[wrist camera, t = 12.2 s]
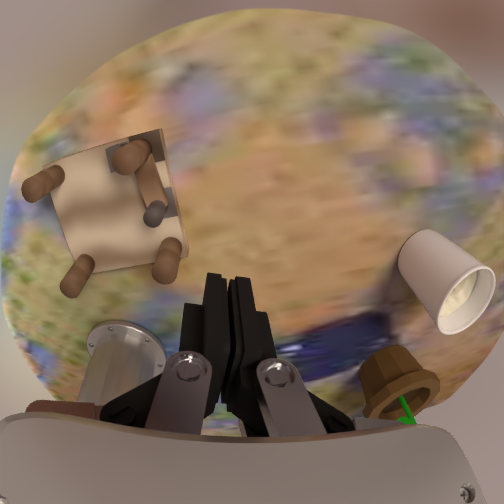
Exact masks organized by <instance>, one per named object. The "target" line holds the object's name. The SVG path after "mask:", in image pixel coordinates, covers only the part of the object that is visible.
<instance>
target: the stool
mask: <svg viewBox="0 0 504 504" xmlns="http://www.w3.org/2000/svg"><path fill="white" fill-rule="evenodd" d="M139 138H143V139H146V140H148V141H149V142H150V143H151V145H152V155H153V158H154V161H155V164H156V167H157V170H158V173H159V176H160V179H161V182H162V184H163V187H164V190H165V193H166V196H167V199H168V208H167V211H166V213H165V215H164V218H163V220H162V222H161V224H160V225H159V226H158V227H155V228H151V227H148V226H147V225H146V224H145V223H144V221H143V215H144V213H145V212H146V210H147V207H146V204H145V201H144V199H143V196H142V193H141V190H140V188H139V185H138V182H137V179H136V176H135V174H134V172H133V173H132V174H130V175H120V174H118V173H117V172H116V171H115V170H114V169H113V167H112V163H111V159H112V155H113V154H114V152H115V151H116V150H117V149H119V148H121V147H123V146H124V145H126V144H128V143H130V142H132V141H134V140H136V139H139ZM21 190H22V195H23V197H24V199H25V200H26V201H28V202H30V203H34V202H36V201H38V200H39V199H40V198H42V197H43V196H45V195H46V194H48V193H49V192H50V194H51V197H52V200H53V203H54V206H55V209H56V212H57V215H58V218H59V221H60V224H61V227H62V229H63V232H64V235H65V238H66V240H67V243H68V245H69V248H70V250H71V253H72V255H73V258H74V260H75V263H74V264H73V265H72V267H71V268H70V270H69V271H68V272H67V274H66V275H65V277H64V278H63V280H62V281H61V283H60V290H61V292H62V293H63V294H64V295H65V296H66V297H68V298H76V297H78V295H79V293H80V292H81V290H82V288H83V286H84V285H85V283H86V281H87V280H88V278H89V276H90V275H91V273H97V272H102V271H108V270H114V269H119V268H125V267H131V266H136V265H142V264H148V263H153V262H155V263H154V266H153V269H152V276H153V278H154V279H155V280H156V281H157V282H158V283H161V284H170V283H172V282H174V281H175V279H176V277H177V272H178V267H179V262H180V258H182V257H188V253H189V245H188V241H187V237H186V233H185V229H184V225H183V221H182V217H181V213H180V209H179V205H178V201H177V196H176V192H175V188H174V183H173V179H172V174H171V170H170V165H169V160H168V156H167V151H166V146H165V141H164V136H163V131H162V129H157V130H153V131H149V132H145V133H141V134H137V135H134V136H130V137H127V138H123V139H119V140H116V141H113V142H109V143H106V144H103V145H99V146H96V147H93V148H90V149H87V150H84V151H81V152H78V153H75V154H72V155H70V156H67V157H64V158H61V159H58V160H56V161H53V162H51V163H49V164H47V165H44V166H43V171H41V172H39V173H37V174H35V175H34V176H32V177H30V178H28V179H26V180H25V181H24V182H23V184H22V189H21Z"/></svg>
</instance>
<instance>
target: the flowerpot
mask: <svg viewBox="0 0 504 504" xmlns="http://www.w3.org/2000/svg"><path fill="white" fill-rule="evenodd" d="M359 376H360V380H361V383H362V387H363V391H364V395H365V399H366V403H367V405H366V406H365V408H364V410H363V414H364V416H365V418H371V419H384V420H397V421H401V422H403V423H404V424H417V423H416V421H415V419H414V416H415V415H417V414H418V413H419V412H421V411H422V410H423V409H424V408H425V407H427V406H428V405H429V404H430V403H431V402H432V401H433V399H434V398H435V397H436V395H437V394H438V392H439V391H440V381H439V379H438V377H437V376H436V374H435V373H434V372H431V371H428V370H426V369H423V368H422V366H421V365H420V364H419V363H418V362H417V361H416V359H415V358H414V357H413V356H412V355H411V354H410V352H409V351H408V350H407V349H406V348H404V347H402V346H400V345H395V346H389V347H385V348H383V349H381V350H379V351H378V352H376V353H374V354H372V355H371V356H370V357H369V358H368V359H367V360H366V361H365V362H364V363H363V364H362V367H361V369H360V371H359Z"/></svg>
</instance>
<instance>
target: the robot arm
mask: <svg viewBox="0 0 504 504" xmlns="http://www.w3.org/2000/svg"><path fill="white" fill-rule="evenodd" d="M87 349H88V352H89V355H90V356H91V360H90V363H89V365H88V368H87V371H86V374H85V377H84V380H83V383H82V386H81V389H80V392H79V395H78V399H77V402H65V401H50V400H36V401H34V402H32V403H31V404H30V405H29V406H28V407H27V409H26V411H25V413H19V414H14V415H11V416H8V417H6V418H4V419H3V420H1V421H0V504H487V503H486V501H485V498H484V496H483V493H482V490H481V488H480V485H479V483H478V481H477V478H476V476H475V474H474V472H473V470H472V467H471V466H470V463H469V461H468V459H467V457H466V456H465V454H464V452H463V450H462V449H461V447H460V445H459V444H458V442H457V441H456V440H455V438H454V437H453V436H452V435H451V434H450V433H449V432H447V431H446V430H444V429H441V428H438V427H435V426H429V425H421V424H404V423H403V422H401V421H397V420H384V419H371V418H360V417H354V418H353V419H350V418H349V417H348V416H346V415H345V414H344V413H342V412H341V411H339V410H337V409H336V408H334V407H333V406H331V405H329V404H328V403H326V402H325V401H323V400H321V399H320V398H318V397H317V396H315V395H314V394H312V393H311V392H309V391H308V390H306V387H305V385H304V383H303V381H302V379H301V377H300V375H299V372H298V371H297V369H296V368H295V367H294V366H293V365H292V364H291V363H289V362H287V361H285V360H282V359H279V358H277V356H276V351H275V347H274V342H273V338H272V333H271V329H270V324H269V320H268V315H267V313H266V312H260V311H256V308H255V303H254V297H253V292H252V286H251V280H250V278H246V277H238V276H236V277H235V280H233V279H230V281H229V286H228V291H227V281H226V279H225V278H222V276H221V274H215V273H207V278H206V284H205V290H204V297H203V303H202V305H198V304H190V303H185V304H184V311H183V320H182V328H181V337H180V347H179V352H177V353H174V354H173V355H171V356H170V357H169V358H168V360H167V362H166V352H165V349H164V347H163V345H162V344H161V342H160V341H159V340H158V339H157V338H156V337H155V336H154V335H153V334H152V333H150V332H149V331H148V330H146V329H144V328H142V327H140V326H138V325H135V324H133V323H129V322H125V321H116V320H115V321H106V322H102V323H100V324H98V325H96V326H95V327H94V328H93V329H92V330H91V332H90V333H89V336H88V339H87ZM162 371H163V373H161V372H162ZM160 373H161V374H160ZM220 391H221V402H222V403H225V404H227V412H232V413H233V414H234V415H235V416H236V417H238V418H239V420H238V423H239V428H240V432H241V435H242V437H229V436H209V435H201V429H202V424H203V419H205V418H206V417H207V416H209V415H210V414H211V413H213V412H214V408H215V404H216V403H218V399H219V395H220Z"/></svg>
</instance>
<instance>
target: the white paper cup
mask: <svg viewBox="0 0 504 504" xmlns="http://www.w3.org/2000/svg"><path fill="white" fill-rule="evenodd" d="M398 269H399V272H400V274H401V275H402V277H403V278H404V280H405V281H406V283H407V284H408V285H409V287H410V288H411V289H412V291H413V292H414V294H415V295H416V296H417V298H418V299H419V301H420V302H421V304H422V305H423V306H424V308H425V309H426V311H427V312H428V314H429V315H430V317H431V318H432V320H433V321H434V323H435V324H436V326H437V328H438V330H439V331H440V332H441V333H443V334H446V335H451V334H456V333H458V332H461V331H463V330H464V329H466V328H467V327H469V326H470V325H471V324H473V323H474V322H475V321H476V320H477V319H478V318H479V317H480V315H481V314H482V313H483V312H484V310H485V309H486V307H487V306H488V304H489V302H490V300H491V298H492V295H493V292H494V289H495V275H494V272H493V271H492V269H491V268H489V267H488V266H486V265H484V264H483V263H481V262H480V261H479V260H477V259H476V258H475V257H473V256H472V255H470V254H469V253H468V252H466V251H465V250H463V249H462V248H460V247H459V246H458V245H456V244H455V243H453V242H452V241H450V240H449V239H447V238H446V237H444V236H443V235H441V234H439V233H438V232H436V231H434V230H430V229H425V230H421V231H418V232H417V233H415V234H413V235H412V236H411V237H410V238H409V239H408V240H407V241H406V242H405V244H404V245H403V247H402V249H401V251H400V254H399V257H398Z"/></svg>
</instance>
